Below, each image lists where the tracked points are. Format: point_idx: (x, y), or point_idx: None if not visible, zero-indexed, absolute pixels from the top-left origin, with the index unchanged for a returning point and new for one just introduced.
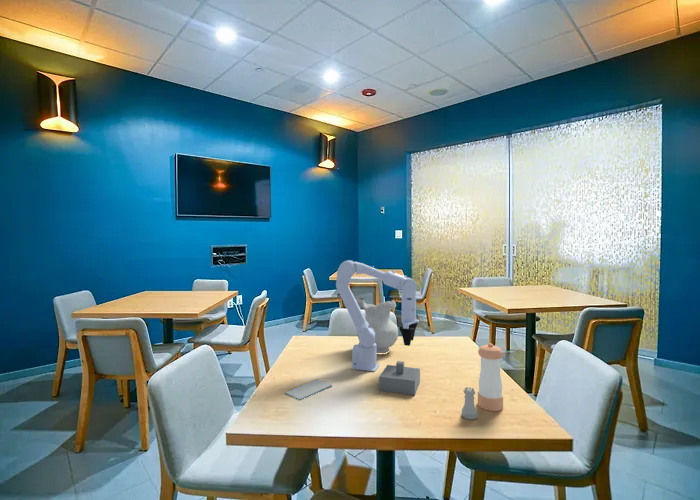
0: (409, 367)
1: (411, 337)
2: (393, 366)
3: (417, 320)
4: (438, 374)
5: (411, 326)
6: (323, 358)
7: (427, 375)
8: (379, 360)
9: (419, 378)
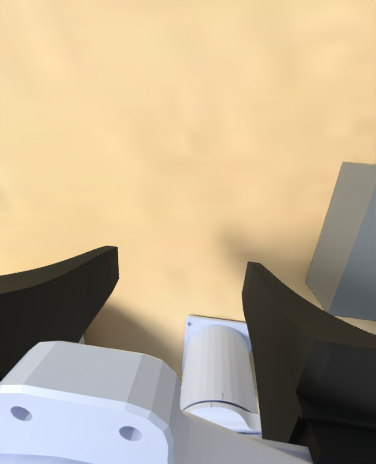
0: (364, 222)
1: (107, 266)
2: (349, 291)
3: (116, 439)
4: (239, 76)
5: (38, 336)
6: None
7: (260, 132)
8: (137, 316)
9: (372, 164)
